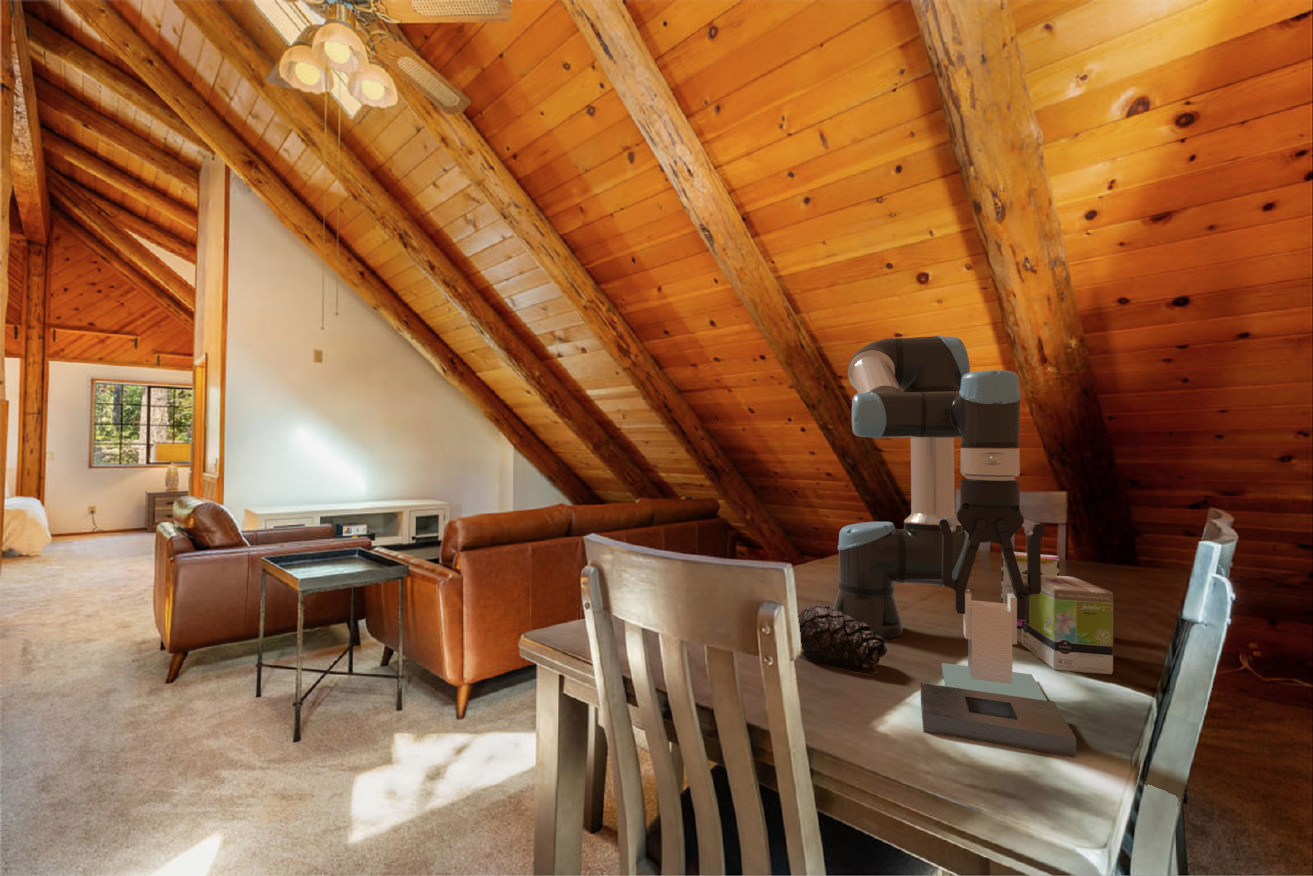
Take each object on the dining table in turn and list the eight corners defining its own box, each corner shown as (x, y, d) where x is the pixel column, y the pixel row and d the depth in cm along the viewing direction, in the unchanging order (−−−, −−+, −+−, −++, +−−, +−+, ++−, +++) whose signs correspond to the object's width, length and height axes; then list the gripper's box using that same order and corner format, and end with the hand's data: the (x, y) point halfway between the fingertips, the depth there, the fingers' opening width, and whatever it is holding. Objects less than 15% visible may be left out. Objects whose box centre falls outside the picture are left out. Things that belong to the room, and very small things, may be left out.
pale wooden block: (971, 678, 85) (972, 608, 85) (968, 666, 90) (968, 600, 90) (1012, 684, 83) (1012, 612, 83) (1006, 671, 88) (1006, 603, 88)
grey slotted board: (923, 731, 84) (923, 713, 84) (920, 698, 95) (920, 682, 95) (1076, 757, 77) (1076, 738, 77) (1053, 718, 88) (1053, 701, 88)
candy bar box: (1000, 626, 135) (1000, 553, 135) (1001, 620, 139) (1001, 550, 139) (1060, 634, 129) (1059, 558, 129) (1059, 628, 133) (1059, 555, 133)
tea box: (1116, 676, 105) (1115, 591, 106) (1052, 671, 107) (1052, 588, 108) (1074, 648, 120) (1074, 574, 120) (1019, 644, 122) (1019, 572, 122)
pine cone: (881, 681, 102) (881, 623, 102) (784, 659, 113) (784, 605, 113) (898, 664, 110) (898, 610, 110) (806, 645, 121) (806, 595, 121)
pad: (946, 693, 97) (946, 687, 97) (941, 668, 108) (941, 662, 108) (1047, 708, 92) (1047, 701, 92) (1031, 680, 103) (1031, 674, 103)
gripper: (922, 477, 86) (922, 638, 86) (1070, 481, 80) (1070, 655, 79) (920, 475, 93) (920, 623, 93) (1056, 478, 87) (1056, 638, 86)
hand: (989, 638), depth 86 cm, fingers closed on pale wooden block, 5 cm apart
